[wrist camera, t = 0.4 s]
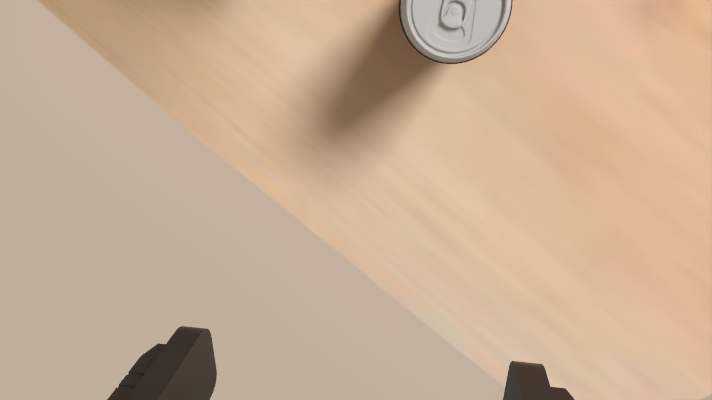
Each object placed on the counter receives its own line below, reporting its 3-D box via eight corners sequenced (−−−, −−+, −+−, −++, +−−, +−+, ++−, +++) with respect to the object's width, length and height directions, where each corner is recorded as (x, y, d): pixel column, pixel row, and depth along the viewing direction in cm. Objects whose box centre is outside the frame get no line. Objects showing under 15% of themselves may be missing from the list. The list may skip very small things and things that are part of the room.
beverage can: (398, 35, 35) (386, 53, 24) (417, -50, 33) (413, -71, 22) (473, 51, 35) (495, 78, 24) (498, -33, 33) (534, -45, 22)
